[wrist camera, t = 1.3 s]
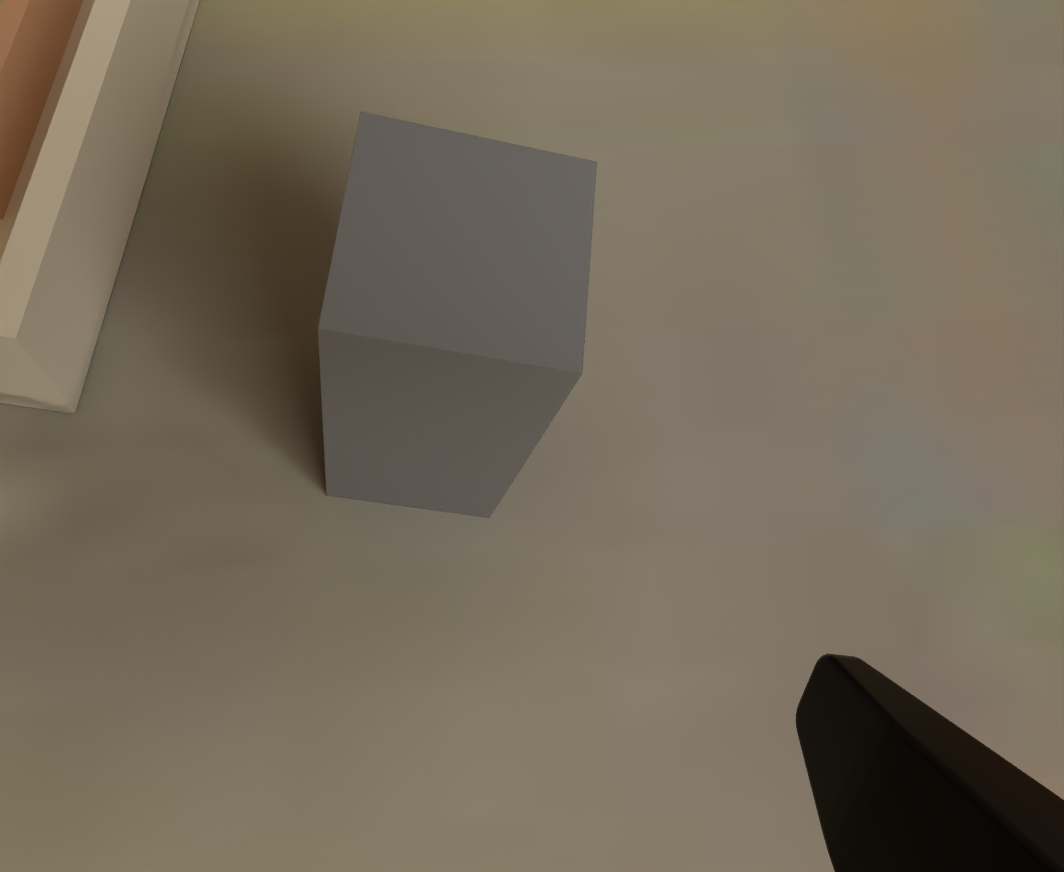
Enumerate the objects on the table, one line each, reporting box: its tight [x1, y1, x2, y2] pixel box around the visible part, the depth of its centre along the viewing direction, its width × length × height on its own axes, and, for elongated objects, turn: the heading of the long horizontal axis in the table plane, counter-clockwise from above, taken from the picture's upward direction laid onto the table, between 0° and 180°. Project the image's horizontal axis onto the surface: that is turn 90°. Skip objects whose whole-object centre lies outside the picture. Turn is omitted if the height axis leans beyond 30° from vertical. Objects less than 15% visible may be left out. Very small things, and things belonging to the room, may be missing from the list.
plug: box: [318, 112, 597, 518], centre depth 20 cm, size 4×4×10 cm
